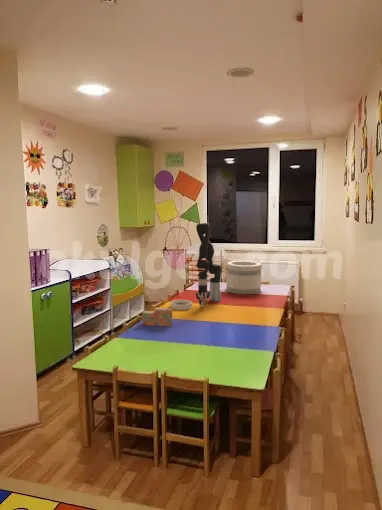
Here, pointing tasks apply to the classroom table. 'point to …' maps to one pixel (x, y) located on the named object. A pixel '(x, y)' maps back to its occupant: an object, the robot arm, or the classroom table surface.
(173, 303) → the grey ring
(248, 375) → the classroom table surface
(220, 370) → the classroom table surface
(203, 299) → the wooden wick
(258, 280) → the storage basket
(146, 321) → the stack of blocks
